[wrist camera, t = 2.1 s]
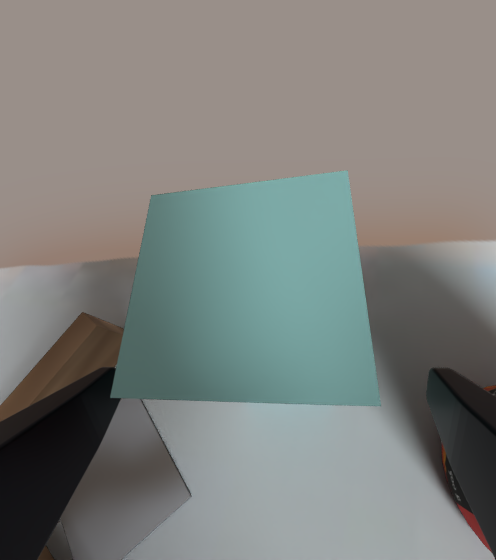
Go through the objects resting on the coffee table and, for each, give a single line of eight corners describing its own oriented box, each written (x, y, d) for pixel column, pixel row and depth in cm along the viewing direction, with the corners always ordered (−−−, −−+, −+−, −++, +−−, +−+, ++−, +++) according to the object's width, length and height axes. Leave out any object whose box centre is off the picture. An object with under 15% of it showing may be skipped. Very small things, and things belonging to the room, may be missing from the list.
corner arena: (267, 457, 15) (253, 472, 12) (104, 717, 13) (23, 838, 9) (122, 328, 20) (82, 312, 17) (-16, 495, 18) (-99, 518, 14)
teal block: (333, 405, 16) (380, 406, 5) (245, 402, 17) (109, 397, 6) (325, 315, 18) (346, 165, 7) (248, 317, 19) (152, 190, 8)
